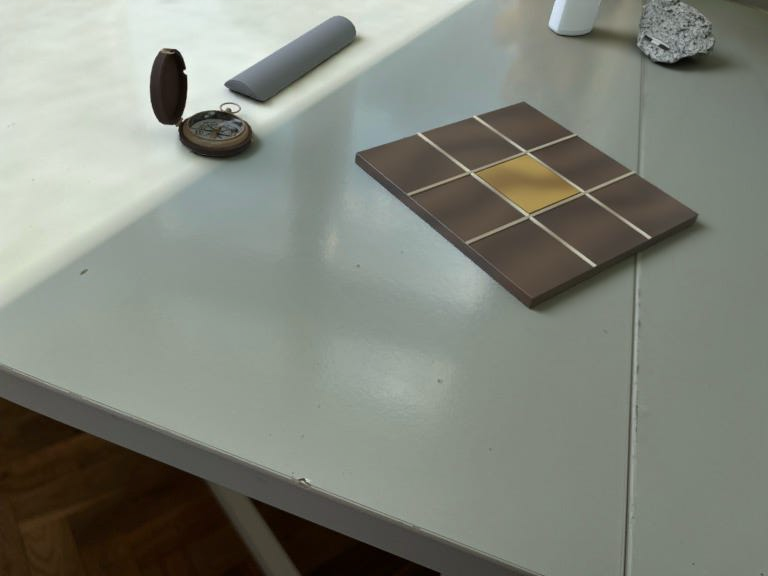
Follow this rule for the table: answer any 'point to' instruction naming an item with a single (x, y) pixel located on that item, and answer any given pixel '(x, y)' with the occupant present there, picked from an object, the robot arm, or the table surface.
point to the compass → (202, 129)
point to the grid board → (526, 198)
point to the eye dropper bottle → (574, 16)
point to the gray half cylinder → (294, 59)
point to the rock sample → (674, 31)
